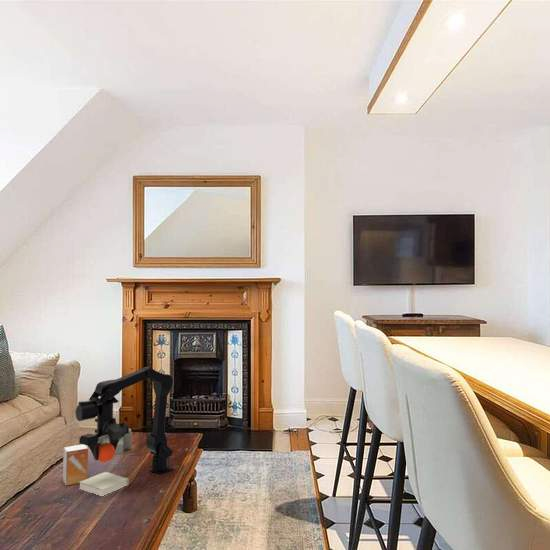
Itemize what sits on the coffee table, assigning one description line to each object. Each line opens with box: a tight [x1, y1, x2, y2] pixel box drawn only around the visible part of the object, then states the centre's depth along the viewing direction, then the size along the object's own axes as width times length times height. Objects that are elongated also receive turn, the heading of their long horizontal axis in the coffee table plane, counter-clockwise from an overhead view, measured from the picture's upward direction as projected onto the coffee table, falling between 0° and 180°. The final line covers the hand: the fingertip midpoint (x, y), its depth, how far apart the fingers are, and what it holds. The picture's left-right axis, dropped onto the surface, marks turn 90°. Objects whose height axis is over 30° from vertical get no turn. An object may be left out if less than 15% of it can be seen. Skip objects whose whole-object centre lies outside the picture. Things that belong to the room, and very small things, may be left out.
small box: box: [62, 444, 89, 486], centre depth 189 cm, size 8×6×13 cm
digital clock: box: [94, 428, 132, 455], centre depth 222 cm, size 16×9×11 cm, turn 97°
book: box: [79, 471, 130, 497], centre depth 182 cm, size 12×13×3 cm
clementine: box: [97, 443, 116, 463], centre depth 182 cm, size 8×7×7 cm
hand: (104, 457), depth 183 cm, fingers closed on clementine, 7 cm apart
